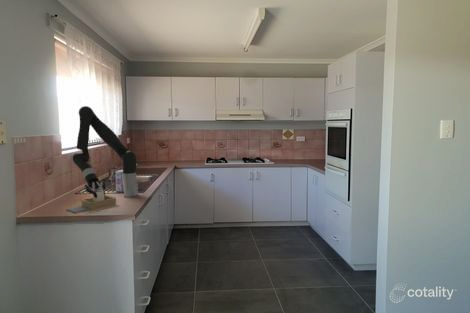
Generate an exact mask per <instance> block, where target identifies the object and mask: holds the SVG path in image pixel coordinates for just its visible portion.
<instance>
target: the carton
mask: <svg viewBox="0 0 470 313" xmlns="http://www.w3.org/2000/svg"><path fill="white" fill-rule="evenodd" d="M79 206H82V207H85V208H87V209H89V210H91V211H95V212H97V211H101V210H105V209H106V210H107V209H110V208H114V207H119V206H120V205H119V204H117V198H116V197H113V196H110V195H106V194H105V196H104V200H102V201H97V202H94V196H93V197H89V198H83V199H81V204H79Z"/></svg>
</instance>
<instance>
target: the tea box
mask: <svg viewBox="0 0 470 313" xmlns="http://www.w3.org/2000/svg"><path fill="white" fill-rule="evenodd" d="M95 192H96V194H97V198H95V197H94V196H93V197H94V202H97V201H102V200H104V192H105V191H104V190H102V189H95Z"/></svg>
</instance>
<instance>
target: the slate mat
mask: <svg viewBox="0 0 470 313" xmlns="http://www.w3.org/2000/svg"><path fill="white" fill-rule="evenodd" d="M66 211H67V212H70V213H73V214H77V213H82V212H86V211H90V209H88V208H85V207H82V206H80V205H79V206H74V207H70V208H66Z"/></svg>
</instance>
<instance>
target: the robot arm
mask: <svg viewBox="0 0 470 313" xmlns="http://www.w3.org/2000/svg"><path fill="white" fill-rule="evenodd" d="M78 115H79V130H78V135H77V141H76V142H77V143H76V149H77V150H80V151H82V152H75V153H73V155H72V161H73V163H74V165H76V167H77V168H79V169H80V171H81V173H82V176H83V178H84V180H85V182H86V184H84V187H83V189H84V190H85V191H86V192H87V193H88V194H92V196H93V197H95V198H97V194H96V192H95V190H97V189H102V190H104V196H105V195H106V192H105V190H106V182H105V181H103V182H101V181H100V180H99V178H98V176H97V174H96V172H95V170H94V168H93V166H92V165H91V163H90V162H89V161H90V152H89V141H90V140H89V139H90V127H91V128H92V129H93V130H94V131H95V133H96V135H98V137H99V138H100V139H101V141H103V142H104V143H105V144H106V145H107V146H109V148H111V149H112V150H113V151H114V152H115V153H116V154H117V155H118V157H119V158H120V159H121V160H122V163H123V165H122V166H123V168H122V170H123V186H124V192H123V197H126V198H130V197H131V198H132V197H136V196H139V188H138V187H139V184H138V182H137V156H136V154H135V152H133V151H130V150H129V148H127V147H126V146H125V145H124V144H123V143H122V141H121V140H120V138H119V137H118V135H117V134H116V133H115V132H114V130H112V129H111V128H110V127H109V126H108V125H107V124H106V123H104V122H103V121H102V120H101V119H100V118H99V117H98V115H96V113H95V112H94V111H93V109H92V107H90V106H88V105H85V106H81V107H80V108H79V109H78Z"/></svg>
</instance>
